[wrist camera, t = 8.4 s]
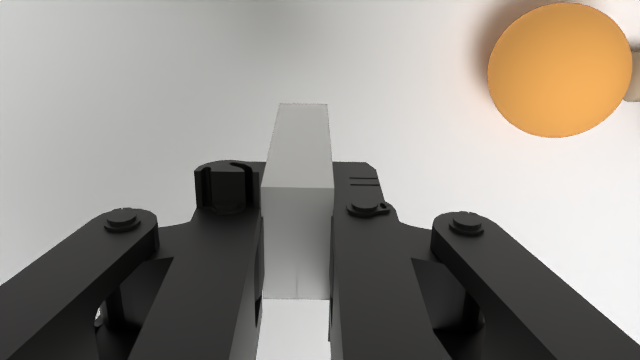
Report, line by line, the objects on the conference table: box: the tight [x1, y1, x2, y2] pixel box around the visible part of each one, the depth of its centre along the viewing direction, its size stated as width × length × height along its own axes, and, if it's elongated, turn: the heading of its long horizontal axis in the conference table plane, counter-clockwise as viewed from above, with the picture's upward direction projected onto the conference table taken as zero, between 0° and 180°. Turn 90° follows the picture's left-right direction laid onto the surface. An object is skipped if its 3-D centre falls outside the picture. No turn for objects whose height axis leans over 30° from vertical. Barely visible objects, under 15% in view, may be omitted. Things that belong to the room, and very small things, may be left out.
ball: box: [487, 3, 632, 138], centre depth 24 cm, size 6×6×6 cm
